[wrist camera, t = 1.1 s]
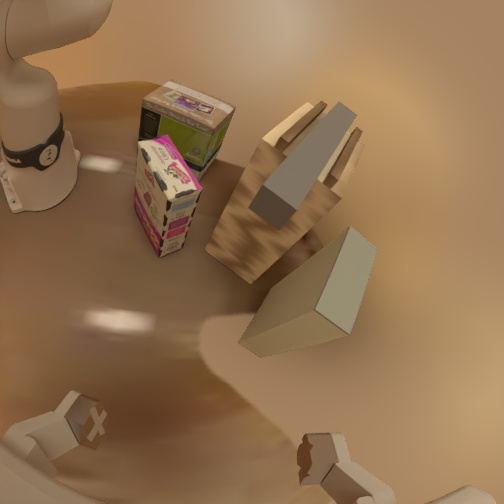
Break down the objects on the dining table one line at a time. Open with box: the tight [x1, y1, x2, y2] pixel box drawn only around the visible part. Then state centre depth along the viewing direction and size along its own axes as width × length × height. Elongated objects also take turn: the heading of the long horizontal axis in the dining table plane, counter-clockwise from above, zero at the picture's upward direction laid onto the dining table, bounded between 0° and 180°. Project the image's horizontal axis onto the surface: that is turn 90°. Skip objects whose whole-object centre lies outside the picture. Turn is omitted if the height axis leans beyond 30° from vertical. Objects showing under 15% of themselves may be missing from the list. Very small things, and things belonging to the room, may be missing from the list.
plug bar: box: [248, 102, 357, 231], centre depth 26 cm, size 3×22×3 cm, turn 149°
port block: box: [238, 226, 377, 357], centre depth 37 cm, size 4×12×22 cm, turn 149°
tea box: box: [138, 80, 236, 181], centre depth 48 cm, size 15×10×15 cm, turn 69°
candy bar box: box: [134, 135, 202, 258], centre depth 39 cm, size 11×5×16 cm, turn 35°
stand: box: [205, 101, 365, 284], centre depth 40 cm, size 10×14×28 cm
